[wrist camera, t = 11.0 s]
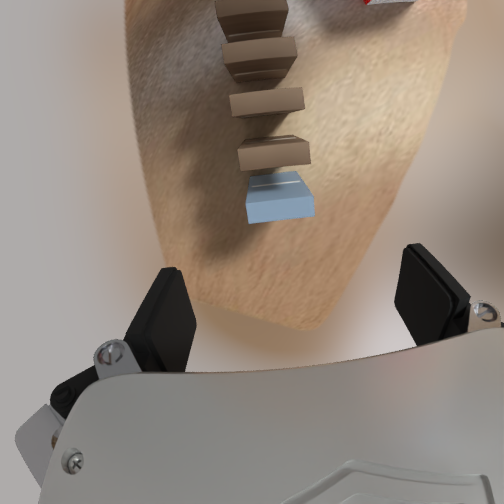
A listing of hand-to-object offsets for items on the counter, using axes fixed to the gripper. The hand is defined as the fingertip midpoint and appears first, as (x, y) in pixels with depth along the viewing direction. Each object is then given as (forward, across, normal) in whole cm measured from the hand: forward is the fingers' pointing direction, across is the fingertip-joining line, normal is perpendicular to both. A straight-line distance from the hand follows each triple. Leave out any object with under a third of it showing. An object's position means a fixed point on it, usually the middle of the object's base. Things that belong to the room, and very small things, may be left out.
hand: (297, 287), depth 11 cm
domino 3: (+20, 0, -8) cm, 22 cm away
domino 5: (+20, 0, 0) cm, 20 cm away
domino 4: (+20, 0, -4) cm, 21 cm away
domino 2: (+20, 0, -12) cm, 23 cm away
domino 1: (+20, 0, -16) cm, 26 cm away
